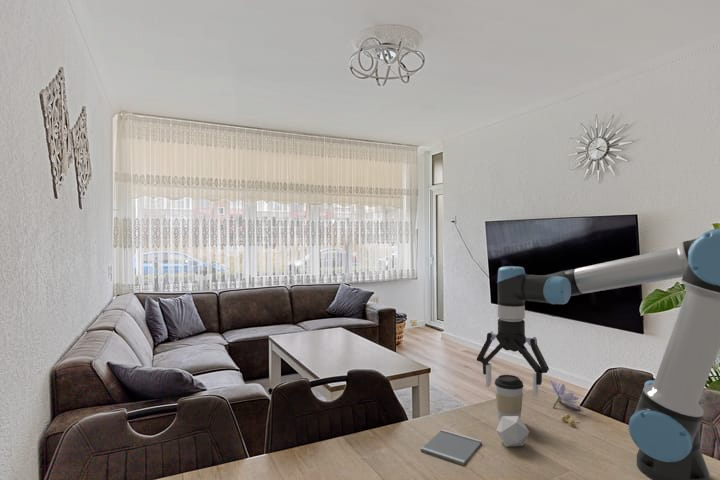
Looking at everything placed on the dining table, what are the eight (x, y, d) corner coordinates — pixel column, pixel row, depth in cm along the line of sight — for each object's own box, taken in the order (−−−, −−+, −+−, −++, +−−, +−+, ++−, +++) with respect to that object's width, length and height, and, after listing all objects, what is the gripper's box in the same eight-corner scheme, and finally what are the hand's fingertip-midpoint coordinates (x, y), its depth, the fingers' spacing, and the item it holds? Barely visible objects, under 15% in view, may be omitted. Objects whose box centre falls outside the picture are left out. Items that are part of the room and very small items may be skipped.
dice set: (571, 428, 134) (571, 422, 134) (557, 422, 138) (557, 416, 138) (581, 425, 136) (581, 419, 136) (567, 419, 141) (567, 413, 141)
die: (524, 457, 118) (537, 424, 121) (496, 439, 119) (510, 408, 122) (514, 452, 125) (526, 422, 128) (488, 437, 127) (501, 407, 130)
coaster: (481, 443, 124) (481, 440, 124) (463, 465, 113) (463, 462, 113) (441, 431, 132) (441, 429, 132) (420, 451, 120) (420, 448, 120)
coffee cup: (489, 419, 140) (488, 374, 140) (509, 413, 144) (508, 370, 144) (509, 430, 132) (508, 383, 132) (530, 424, 136) (529, 378, 136)
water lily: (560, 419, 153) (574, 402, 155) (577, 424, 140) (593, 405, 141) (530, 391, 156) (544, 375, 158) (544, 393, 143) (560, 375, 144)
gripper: (559, 321, 119) (559, 395, 119) (474, 312, 133) (475, 378, 134) (554, 326, 113) (554, 404, 113) (465, 316, 127) (466, 385, 128)
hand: (511, 390), depth 123 cm, fingers open, 13 cm apart
